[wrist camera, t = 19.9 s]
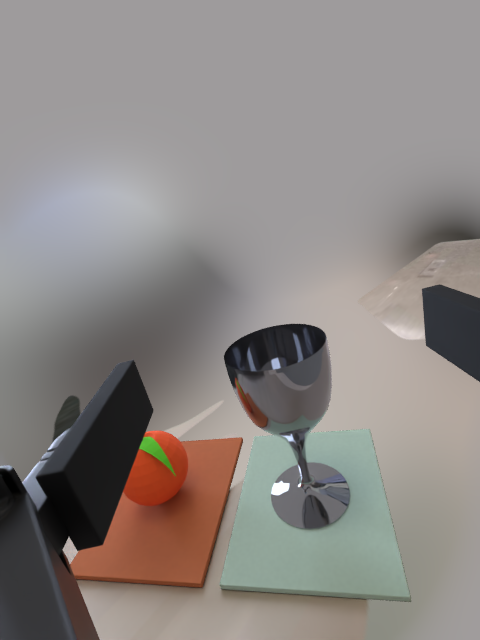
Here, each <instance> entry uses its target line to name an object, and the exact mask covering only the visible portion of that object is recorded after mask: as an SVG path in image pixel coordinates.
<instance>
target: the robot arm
mask: <svg viewBox="0 0 480 640" xmlns="http://www.w3.org/2000/svg"><path fill="white" fill-rule="evenodd" d="M422 295H423V309H424V324H425V338H426V346H428V347H429V348H430V349H432V350H433V351H435V352H436V353H438V354H439V355H441V356H442V357H444V358H445V359H447V360H448V361H450V362H452V363H453V364H454V365H456V366H457V367H459V368H460V369H462V370H463V371H464V372H466V373H468V374H469V375H470V376H472V377H474V378H475V379H476V380H478V381H479V382H480V298H477V297H474V296H472V295H469V294H466V293H463V292H460V291H457V290H454V289H451V288H448V287H445V286H443V285H436V286H432V287H428V288H423V289H422ZM152 413H153V408H152V406H151V403H150V400H149V398H148V395H147V393H146V390H145V387H144V385H143V382H142V380H141V377H140V375H139V372H138V370H137V367H136V365H135V362H134V360H131V361H127V362H123V363H119V364H117V365H116V367H115V368H114V369H113V371H112V372H111V373H110V375H109V376H108V378H107V379H106V380H105V382H104V383H103V385H102V386H101V387H100V389H99V390H98V391H97V393H96V394H95V395H94V397H93V398H92V400H91V401H90V402H89V404H88V405H87V406H86V408H85V409H84V411H83V412H82V413H81V415H80V416H79V417H78V419H77V420H76V422H75V423H74V424H73V426H72V427H71V428H70V429H67V430H66V431H65V432H64V433H63V434H61V435H60V436H59V437H58V438H57V439H56V440H55V441H54V442H53V443H52V445H51V446H50V448H49V449H48V450H47V453H45V454H44V455H43V457H42V458H41V459H40V462H38V463H37V465H36V466H35V467H34V469H33V470H32V471H31V473H30V474H29V475H28V476H27V478H26V479H25V481H24V482H23V483H22V482H21V480H20V478H19V477H18V475H17V473H16V471H15V470H14V468H13V467H11V466H1V467H0V640H100V639H99V637H98V634H97V632H96V629H95V627H94V624H93V622H92V619H91V617H90V614H89V612H88V609H87V607H86V604H85V602H84V599H83V597H82V594H81V592H80V589H79V587H78V584H77V582H76V579H75V577H74V574H73V571H72V569H71V566H70V564H69V561H68V559H67V557H66V555H65V554H64V552H63V550H62V549H63V547H64V545H65V543H66V541H67V539H68V537H70V539H71V540H72V542H73V544H74V546H75V547H76V549H77V551H79V550H83V549H88V548H92V547H97V546H101V545H103V544H104V541H105V538H106V536H107V533H108V530H109V528H110V525H111V522H112V520H113V517H114V514H115V512H116V509H117V506H118V504H119V501H120V498H121V496H122V493H123V490H124V488H125V485H126V482H127V480H128V477H129V474H130V472H131V469H132V466H133V464H134V461H135V458H136V456H137V453H138V450H139V448H140V445H141V442H142V440H143V437H144V434H145V432H146V429H147V426H148V424H149V421H150V418H151V416H152Z"/></svg>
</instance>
